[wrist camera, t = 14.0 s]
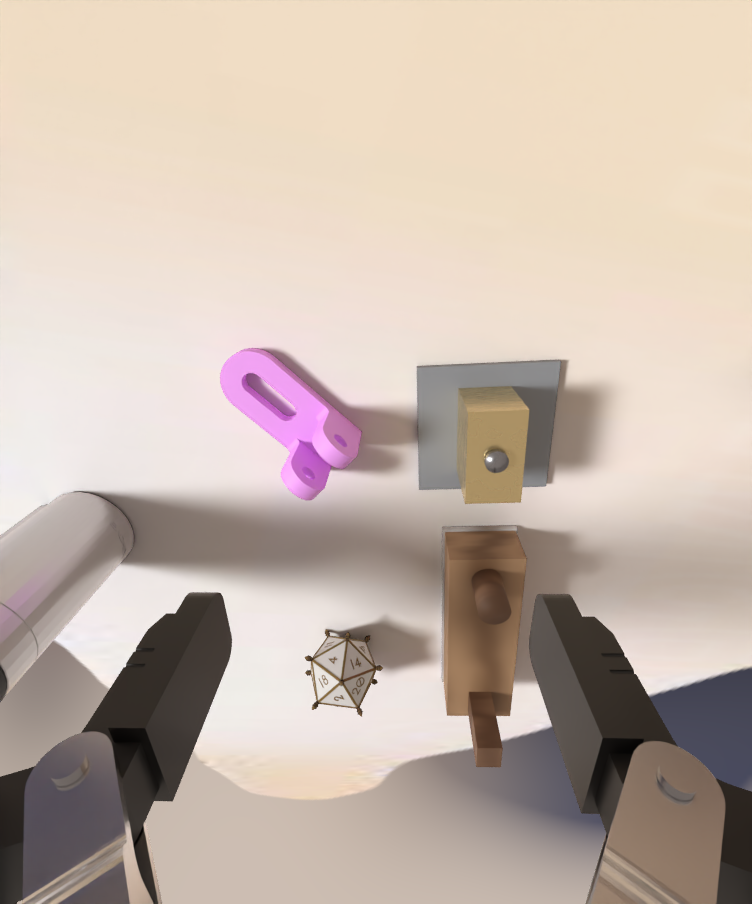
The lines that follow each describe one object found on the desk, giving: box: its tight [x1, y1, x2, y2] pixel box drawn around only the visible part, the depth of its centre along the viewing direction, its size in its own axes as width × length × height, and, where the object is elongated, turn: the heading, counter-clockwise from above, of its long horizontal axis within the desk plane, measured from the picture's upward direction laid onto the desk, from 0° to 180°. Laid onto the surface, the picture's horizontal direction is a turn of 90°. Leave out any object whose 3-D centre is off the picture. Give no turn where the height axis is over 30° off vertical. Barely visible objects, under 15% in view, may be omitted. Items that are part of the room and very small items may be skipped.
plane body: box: [441, 525, 527, 767], centre depth 45 cm, size 7×22×11 cm, turn 3°
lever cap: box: [457, 386, 529, 504], centre depth 37 cm, size 4×8×7 cm, turn 3°
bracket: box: [220, 348, 362, 500], centre depth 38 cm, size 13×6×7 cm, turn 47°
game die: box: [305, 630, 383, 717], centre depth 50 cm, size 9×8×10 cm
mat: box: [417, 360, 561, 490], centre depth 40 cm, size 12×12×1 cm
